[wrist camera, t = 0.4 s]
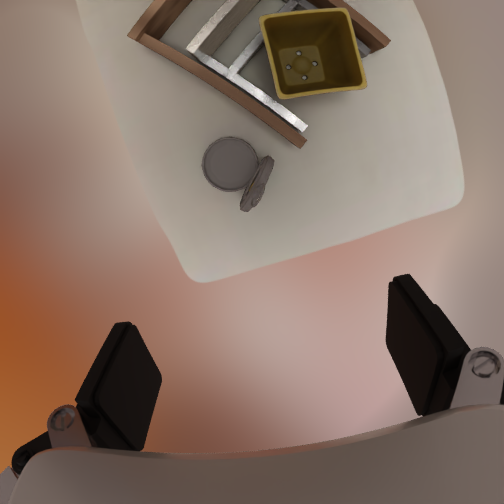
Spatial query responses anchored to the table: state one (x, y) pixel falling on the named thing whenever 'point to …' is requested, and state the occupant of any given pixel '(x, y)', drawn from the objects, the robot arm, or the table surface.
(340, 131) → the table surface
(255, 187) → the pocket watch
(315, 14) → the flower pot
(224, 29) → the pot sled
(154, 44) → the frame
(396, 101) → the table surface
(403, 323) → the robot arm
